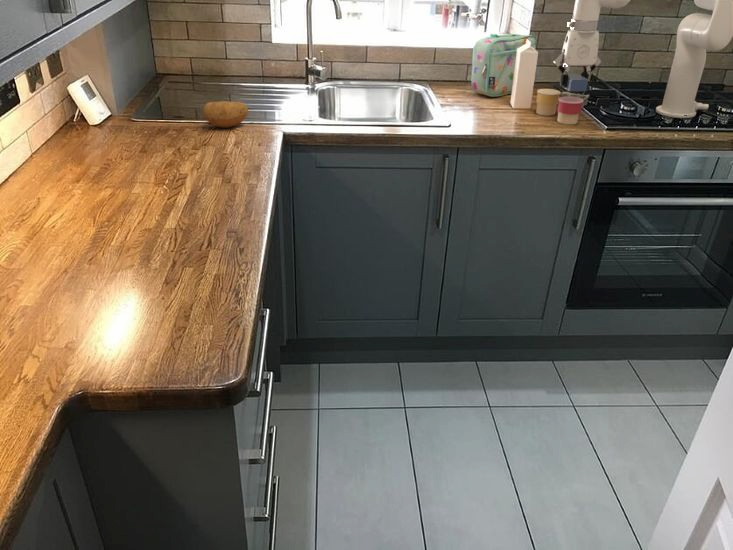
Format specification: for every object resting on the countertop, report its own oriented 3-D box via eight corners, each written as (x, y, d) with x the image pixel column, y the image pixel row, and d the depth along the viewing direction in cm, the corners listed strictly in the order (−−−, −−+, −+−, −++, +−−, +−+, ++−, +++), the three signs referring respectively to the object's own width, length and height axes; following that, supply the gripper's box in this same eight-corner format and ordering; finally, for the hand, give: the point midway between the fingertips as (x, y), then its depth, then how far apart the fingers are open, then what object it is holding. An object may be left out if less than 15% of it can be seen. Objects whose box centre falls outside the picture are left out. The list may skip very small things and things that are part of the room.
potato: (250, 129, 191) (248, 104, 187) (204, 132, 189) (201, 106, 185) (249, 120, 200) (246, 96, 195) (205, 123, 197) (201, 98, 193)
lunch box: (485, 101, 220) (492, 38, 209) (465, 95, 228) (470, 34, 217) (534, 90, 234) (542, 31, 223) (514, 84, 241) (521, 27, 230)
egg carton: (551, 104, 218) (553, 92, 216) (560, 99, 223) (562, 88, 221) (580, 109, 212) (583, 97, 210) (589, 104, 217) (591, 93, 215)
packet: (575, 84, 198) (577, 73, 196) (586, 91, 191) (588, 79, 189) (559, 85, 197) (561, 73, 196) (569, 91, 191) (571, 79, 189)
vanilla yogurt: (555, 110, 211) (558, 89, 207) (558, 116, 205) (561, 94, 201) (533, 109, 212) (536, 88, 208) (535, 115, 206) (538, 94, 202)
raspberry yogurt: (577, 118, 203) (581, 96, 199) (581, 125, 196) (585, 103, 193) (553, 117, 204) (557, 95, 200) (556, 124, 197) (560, 102, 194)
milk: (513, 108, 213) (521, 42, 201) (509, 103, 218) (517, 38, 206) (530, 108, 213) (539, 42, 201) (527, 103, 218) (535, 38, 206)
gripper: (561, 28, 181) (551, 90, 190) (616, 27, 183) (603, 88, 192) (552, 24, 187) (542, 84, 196) (605, 23, 189) (593, 83, 198)
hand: (573, 85), depth 194 cm, fingers closed on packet, 5 cm apart
